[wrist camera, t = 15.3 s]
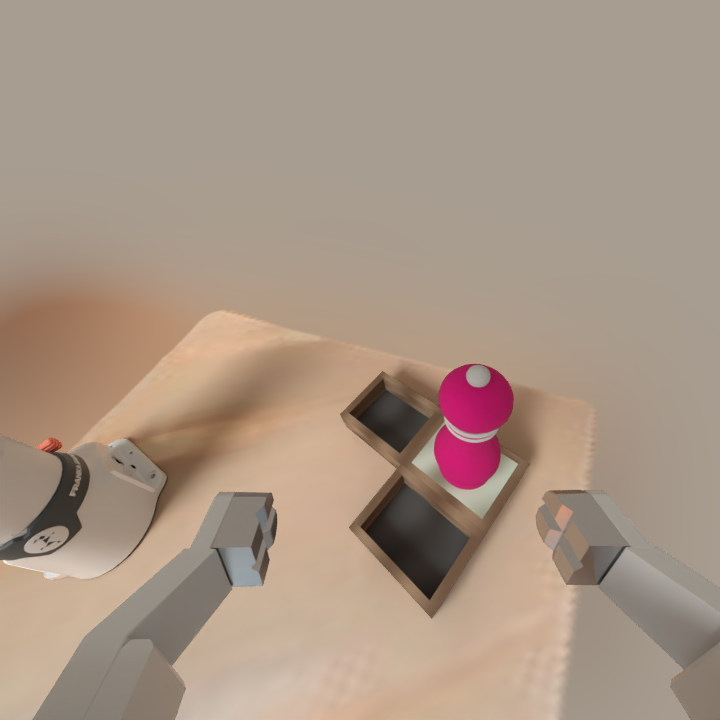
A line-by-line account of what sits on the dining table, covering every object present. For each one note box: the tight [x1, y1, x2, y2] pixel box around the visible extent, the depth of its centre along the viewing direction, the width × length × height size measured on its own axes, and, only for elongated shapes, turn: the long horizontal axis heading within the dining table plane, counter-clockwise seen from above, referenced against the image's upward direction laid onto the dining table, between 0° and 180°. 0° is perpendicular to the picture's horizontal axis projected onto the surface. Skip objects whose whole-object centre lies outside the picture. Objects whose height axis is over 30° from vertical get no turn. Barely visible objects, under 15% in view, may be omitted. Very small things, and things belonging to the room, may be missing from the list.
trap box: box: [340, 371, 530, 618], centre depth 41 cm, size 24×20×4 cm
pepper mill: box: [434, 364, 514, 490], centre depth 30 cm, size 7×7×20 cm
